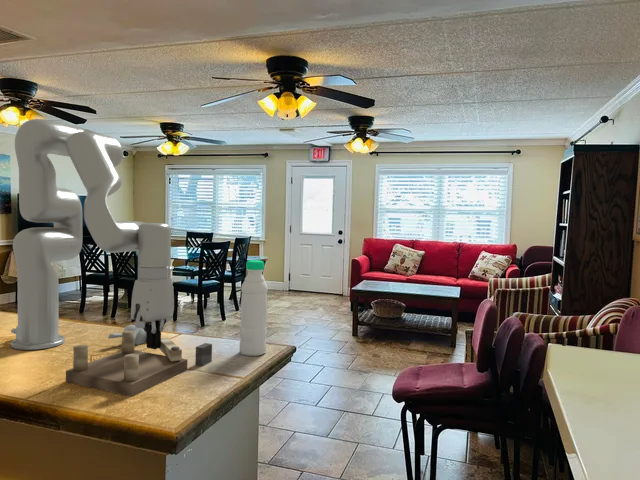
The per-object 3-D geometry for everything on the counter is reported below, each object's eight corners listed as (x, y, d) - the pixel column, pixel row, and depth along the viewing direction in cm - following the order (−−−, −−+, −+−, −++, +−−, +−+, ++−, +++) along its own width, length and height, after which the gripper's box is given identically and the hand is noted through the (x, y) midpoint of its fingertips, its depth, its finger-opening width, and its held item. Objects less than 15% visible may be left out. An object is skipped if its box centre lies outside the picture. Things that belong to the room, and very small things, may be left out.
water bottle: (261, 358, 123) (263, 262, 121) (235, 355, 124) (237, 261, 123) (269, 350, 130) (271, 260, 128) (245, 348, 131) (247, 258, 130)
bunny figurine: (167, 324, 139) (134, 330, 124) (166, 342, 139) (133, 349, 124) (140, 321, 141) (104, 326, 127) (138, 338, 141) (103, 345, 127)
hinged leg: (181, 360, 110) (181, 348, 110) (171, 361, 109) (171, 349, 109) (168, 346, 120) (168, 335, 120) (158, 347, 119) (158, 337, 119)
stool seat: (65, 381, 102) (66, 347, 101) (149, 350, 126) (150, 322, 125) (137, 397, 95) (137, 360, 94) (211, 361, 119) (212, 331, 118)
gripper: (165, 269, 123) (164, 338, 124) (118, 275, 110) (117, 353, 111) (187, 271, 120) (186, 343, 121) (141, 278, 106) (141, 358, 108)
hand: (153, 347), depth 116 cm, fingers closed
